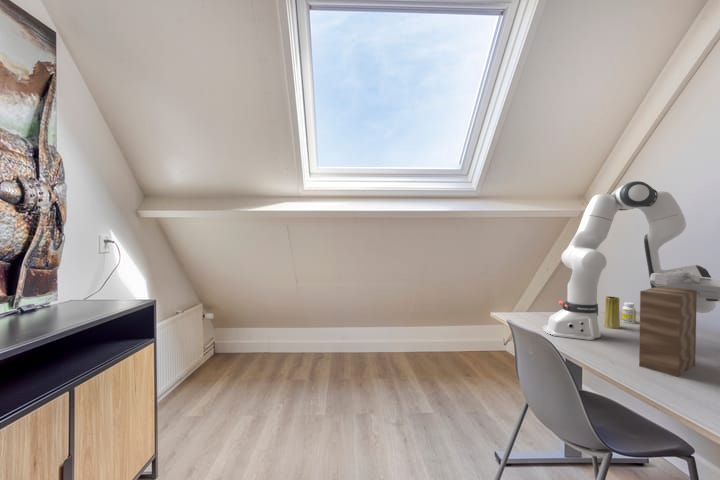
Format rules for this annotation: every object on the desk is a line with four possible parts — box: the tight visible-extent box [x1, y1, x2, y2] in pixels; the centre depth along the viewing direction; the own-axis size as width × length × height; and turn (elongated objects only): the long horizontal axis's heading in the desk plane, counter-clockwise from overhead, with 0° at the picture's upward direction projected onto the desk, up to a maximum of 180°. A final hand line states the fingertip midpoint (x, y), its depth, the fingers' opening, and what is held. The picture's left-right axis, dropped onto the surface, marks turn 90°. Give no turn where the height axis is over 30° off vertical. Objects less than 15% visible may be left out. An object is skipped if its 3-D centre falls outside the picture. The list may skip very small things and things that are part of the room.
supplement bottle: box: [621, 301, 637, 324], centre depth 164 cm, size 5×5×10 cm
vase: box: [603, 296, 621, 330], centre depth 156 cm, size 6×6×14 cm
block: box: [655, 270, 690, 285], centre depth 113 cm, size 22×3×3 cm, turn 120°
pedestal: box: [638, 287, 697, 378], centre depth 112 cm, size 16×10×26 cm, turn 120°
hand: (680, 274), depth 117 cm, fingers closed on block, 3 cm apart
